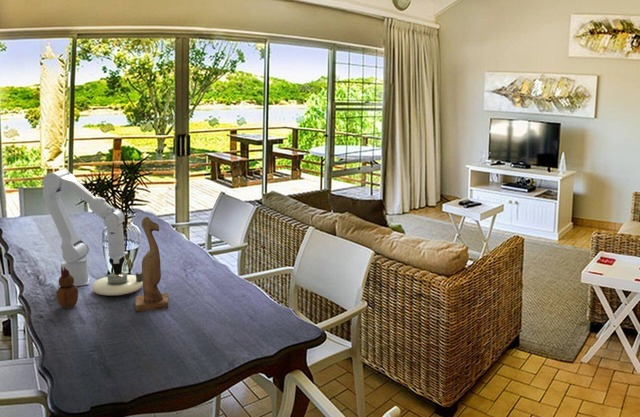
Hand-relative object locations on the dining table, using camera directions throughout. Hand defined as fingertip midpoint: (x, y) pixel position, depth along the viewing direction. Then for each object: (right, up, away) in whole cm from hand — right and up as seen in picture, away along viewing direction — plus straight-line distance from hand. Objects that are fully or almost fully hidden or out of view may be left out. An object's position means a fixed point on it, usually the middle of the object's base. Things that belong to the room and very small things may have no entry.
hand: (118, 275), depth 222 cm
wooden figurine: (-10, -8, -21) cm, 25 cm away
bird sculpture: (+19, -8, -18) cm, 27 cm away
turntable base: (+2, -4, -4) cm, 6 cm away
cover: (+1, -2, -4) cm, 5 cm away
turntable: (+2, -4, -4) cm, 6 cm away
